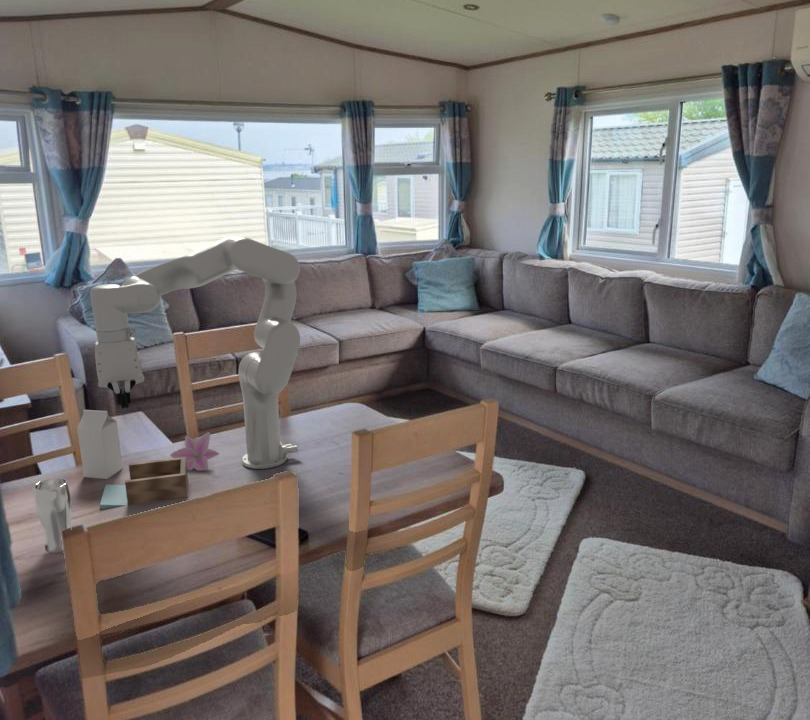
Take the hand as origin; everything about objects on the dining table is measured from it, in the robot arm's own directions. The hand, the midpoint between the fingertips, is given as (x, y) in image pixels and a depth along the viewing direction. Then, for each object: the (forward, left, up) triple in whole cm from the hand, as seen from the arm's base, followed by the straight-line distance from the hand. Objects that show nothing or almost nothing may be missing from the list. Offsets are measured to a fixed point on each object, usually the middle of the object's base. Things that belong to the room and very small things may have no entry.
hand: (125, 406), depth 173 cm
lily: (-15, -10, -24) cm, 30 cm away
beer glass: (+14, +24, -24) cm, 36 cm away
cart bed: (-6, +4, -23) cm, 24 cm away
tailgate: (+1, +4, -22) cm, 23 cm away
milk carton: (+9, -13, -24) cm, 28 cm away
